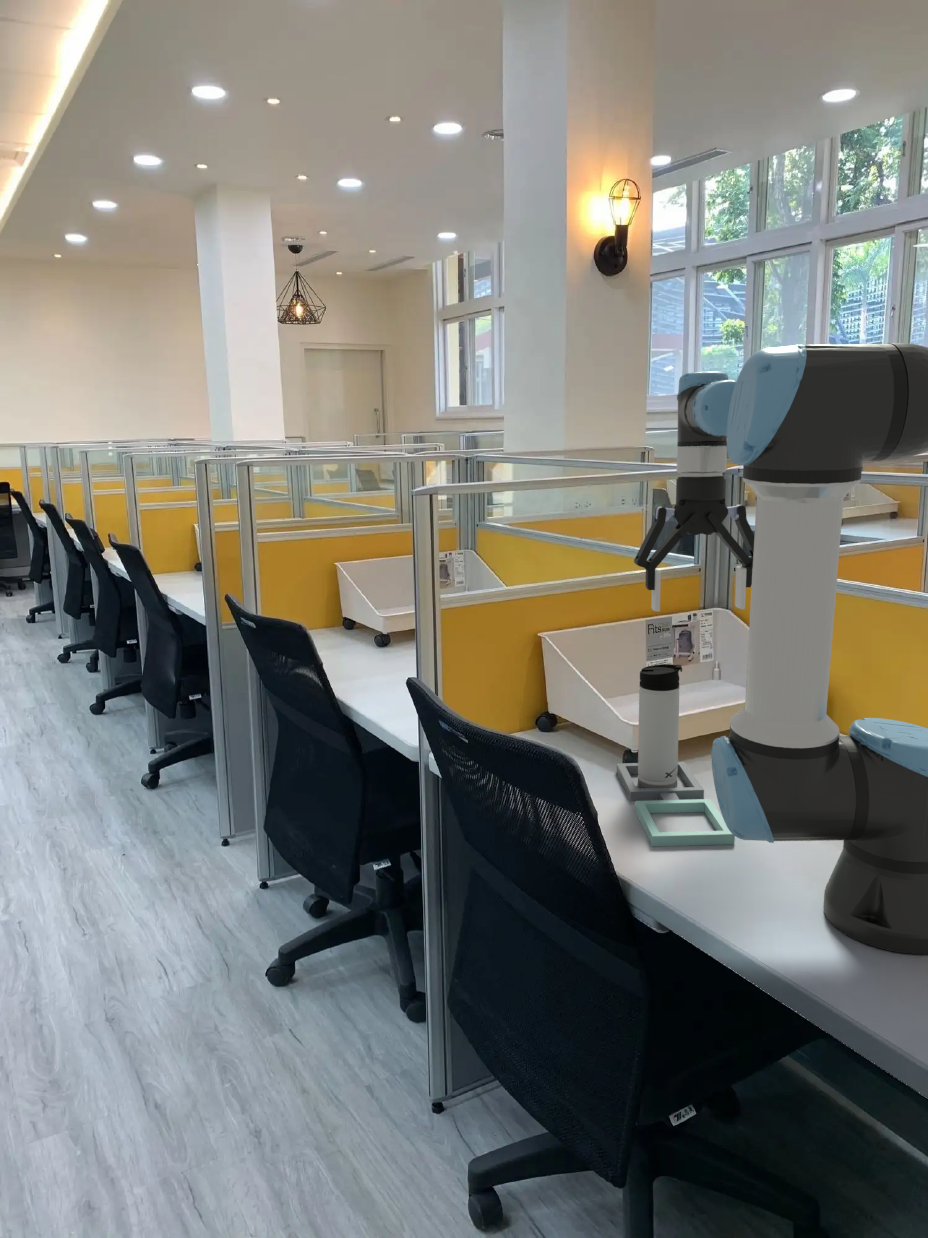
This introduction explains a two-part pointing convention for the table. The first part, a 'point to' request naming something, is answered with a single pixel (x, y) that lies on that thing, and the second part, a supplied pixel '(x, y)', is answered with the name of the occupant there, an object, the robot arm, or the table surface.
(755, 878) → the table surface
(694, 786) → the frame
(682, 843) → the frame
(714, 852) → the table surface
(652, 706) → the travel mug
